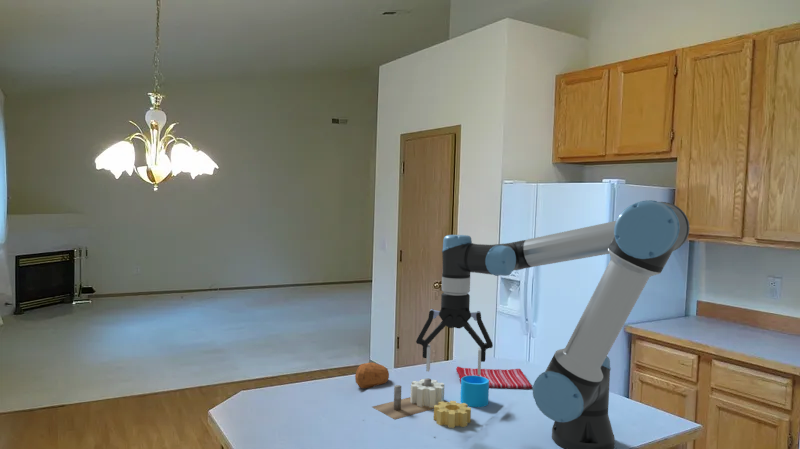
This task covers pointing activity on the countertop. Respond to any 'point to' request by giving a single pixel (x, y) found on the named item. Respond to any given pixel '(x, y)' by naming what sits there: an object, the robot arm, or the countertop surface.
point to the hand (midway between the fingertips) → (453, 371)
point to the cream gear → (427, 393)
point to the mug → (474, 391)
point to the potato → (371, 375)
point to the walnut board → (402, 404)
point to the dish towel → (499, 377)
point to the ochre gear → (452, 414)
